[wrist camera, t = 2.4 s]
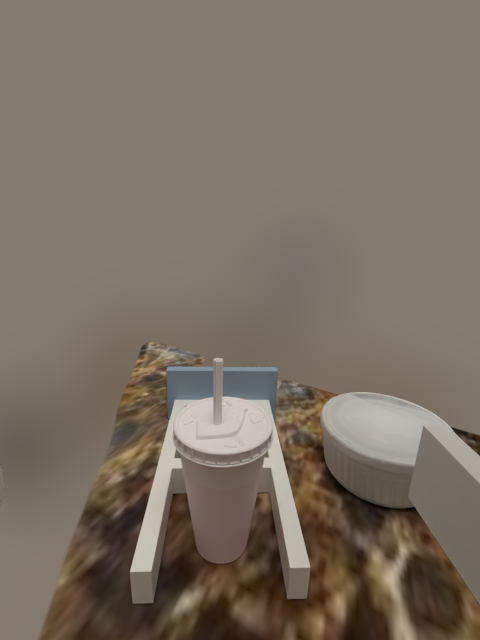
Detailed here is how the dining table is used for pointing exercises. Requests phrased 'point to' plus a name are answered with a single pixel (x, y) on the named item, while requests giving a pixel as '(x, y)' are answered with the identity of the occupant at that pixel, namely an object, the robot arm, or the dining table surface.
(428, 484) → the robot arm
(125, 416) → the dining table surface
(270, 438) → the smoothie
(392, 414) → the ramekin
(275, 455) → the drawer frame
